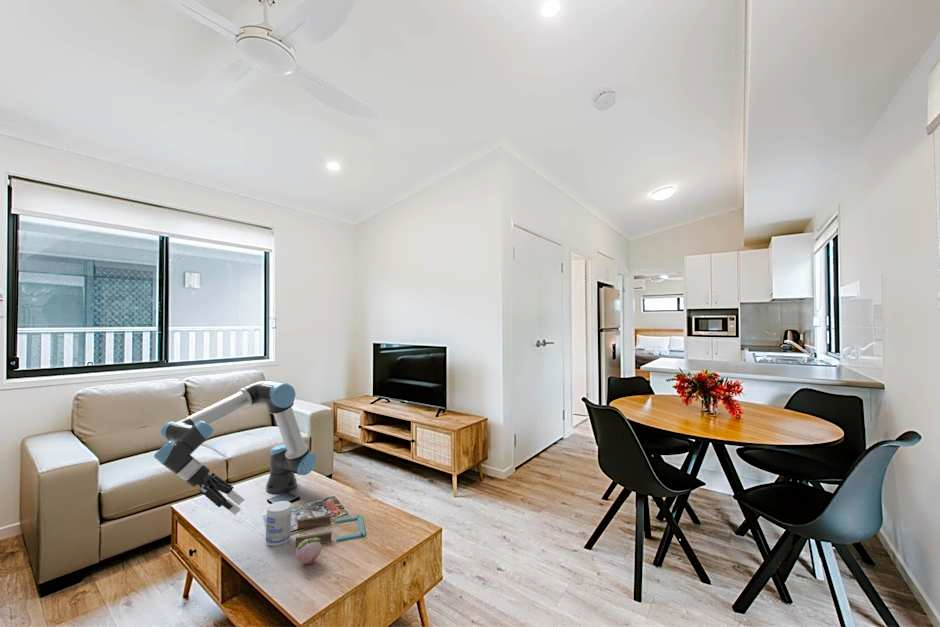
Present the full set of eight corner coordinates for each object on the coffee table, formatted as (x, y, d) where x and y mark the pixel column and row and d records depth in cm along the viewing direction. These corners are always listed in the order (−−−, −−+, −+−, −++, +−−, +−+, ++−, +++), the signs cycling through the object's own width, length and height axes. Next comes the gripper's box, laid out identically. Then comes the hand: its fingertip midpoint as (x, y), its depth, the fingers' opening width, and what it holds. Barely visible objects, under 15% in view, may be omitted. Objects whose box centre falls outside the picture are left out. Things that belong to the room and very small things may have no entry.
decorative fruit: (313, 553, 157) (314, 528, 157) (324, 562, 152) (325, 536, 152) (290, 564, 150) (291, 538, 150) (301, 574, 145) (301, 547, 145)
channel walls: (297, 527, 176) (297, 519, 176) (330, 522, 181) (330, 514, 181) (295, 547, 161) (295, 539, 161) (331, 541, 166) (331, 533, 166)
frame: (334, 520, 182) (334, 519, 182) (361, 516, 186) (361, 514, 186) (336, 541, 166) (336, 539, 166) (365, 536, 170) (365, 534, 170)
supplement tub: (263, 548, 160) (264, 512, 159) (267, 535, 169) (268, 501, 169) (289, 545, 162) (290, 509, 162) (292, 532, 172) (293, 499, 171)
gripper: (193, 470, 163) (237, 502, 169) (177, 491, 144) (226, 527, 150) (208, 455, 165) (251, 488, 171) (194, 475, 146) (243, 511, 152)
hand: (239, 506), depth 160 cm, fingers open, 8 cm apart
